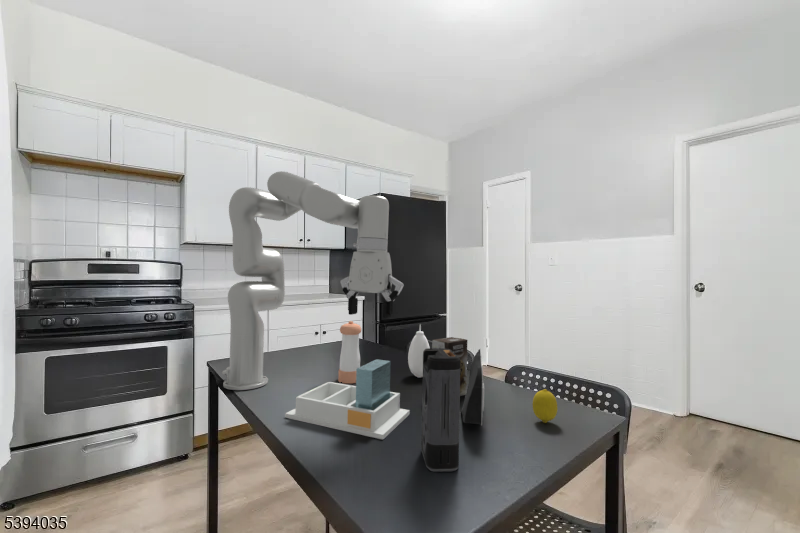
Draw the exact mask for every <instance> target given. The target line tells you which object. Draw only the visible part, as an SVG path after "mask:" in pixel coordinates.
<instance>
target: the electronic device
mask: <svg viewBox="0 0 800 533" xmlns="http://www.w3.org/2000/svg"><path fill="white" fill-rule="evenodd" d="M421 384H422V387H421V388H422V390H421V393H422V394H421V397H422V399H421V400H422V402H421V443H420V444H421V447H420V448H421V449H420V450H421V453H422V457H423V461H424V464H425V467H426V468H427V469H428V471H431V472H434V473H443V472H444V473H445V472H447V473H449V472H455V471H457V470H458V469H459V466H460V465H459V462H460V461H459V460H460V457H459V455H460V413H461V411H460V406H461V405H460V404H461V403H460V400H461V398H460V397H461V396H460V358H459V357H458V356H457V355H456V354H455V353H454V352H453V351H452V350H450V349H446V348H432V347H430V348H428V349H425V350H424V351H423V377H422V383H421Z"/></svg>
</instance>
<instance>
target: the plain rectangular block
mask: <svg viewBox="0 0 800 533" xmlns="http://www.w3.org/2000/svg"><path fill="white" fill-rule="evenodd" d="M391 363H392V361H391V360H383V359H378V358H377V359H374V360H372V361H370V362H368V363H366V364H364V365H360V367H359V368H357V369H356V383H355V386H356V407H357V408H363V409H368V410H375V409H376V408H378V407H379V406H380V405H382V404H383V403H384V402H386V401H387V400H388V399H390V392H391V368H392V367H391V366H392V365H391Z"/></svg>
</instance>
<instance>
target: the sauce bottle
mask: <svg viewBox="0 0 800 533" xmlns="http://www.w3.org/2000/svg"><path fill="white" fill-rule="evenodd" d="M421 325H422V324H419V329H418V331H416V332H415V335H414V336H413V338H412V340H411V342H410V345H409V347H408V348H409V349H408V354H407V360H408V361H407V363H408V367H409V370H410V372H411V374H413V376H414V377H417V378H418V379H419V378H423V351H424V350H425V349H428V348H431V347H430V344H429V341H428V339H427V337H426V335H425V333H424V331H423V330H422V326H421ZM421 330H422V331H421Z"/></svg>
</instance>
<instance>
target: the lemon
mask: <svg viewBox="0 0 800 533" xmlns="http://www.w3.org/2000/svg"><path fill="white" fill-rule="evenodd" d="M532 410H533V413H534V415H535V416H536V418H538V420H540V421H541V422H542V423H543V424H547V423H548V422H551V421H553V420H554V419H555V418H556V416H557V413H558V402H557V398H556V397H555V395H554V394H553V393H552V392H551V391H550V390H548V389H546V388H544V389H542V390H538V391H537V392H536V393H535V395H534V396H533V399H532Z"/></svg>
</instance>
